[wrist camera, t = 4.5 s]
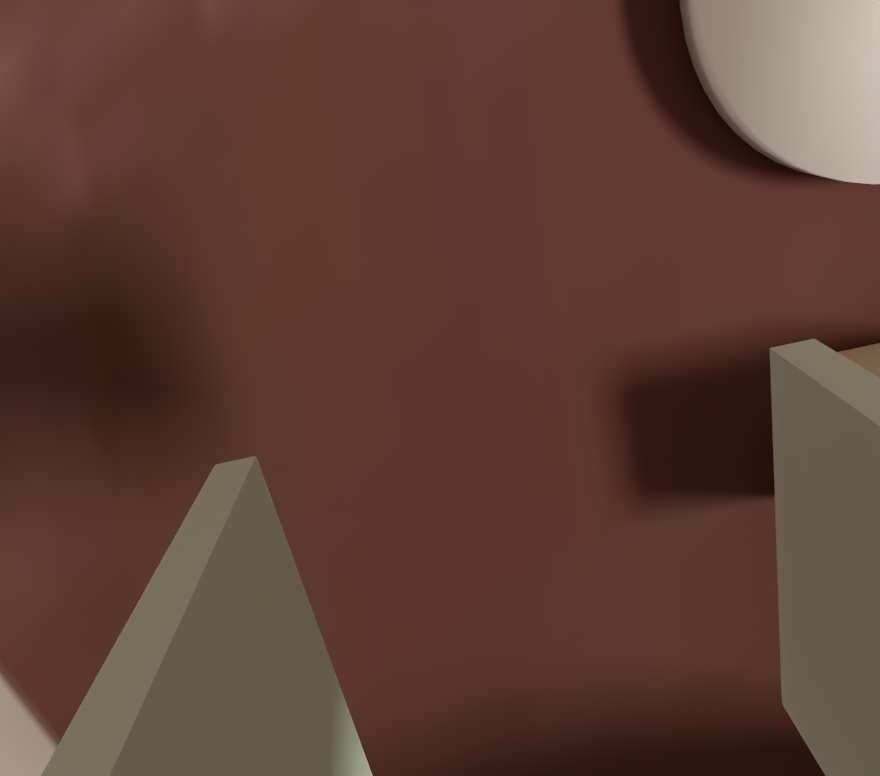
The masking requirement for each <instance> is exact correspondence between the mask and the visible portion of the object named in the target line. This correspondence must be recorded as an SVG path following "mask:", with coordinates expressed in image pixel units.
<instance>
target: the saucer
mask: <svg viewBox="0 0 880 776" xmlns="http://www.w3.org/2000/svg"><path fill="white" fill-rule="evenodd" d="M680 11H681V18H682V24H683V30H684V37H685V40H686V44H687V47H688V51H689V54H690V58H691V61H692V64H693V67H694V69H695V72H696V74H697V76H698V78H699V81H700V83H701V85H702V87H703V90H704V92H705V93H706V95H707V96H708V98H709V100H710V101H711V103H712V104H713V106H714V107H715V109H716V111H717V112H718V114H719V115H720V116H721V117H722V118H723V120H724V121H725V122H726V123H727V124H728V125H729V127H730V128H731V129H732V130H733V131H734V132H735V133H736V134H737V135H738V136H739V137H740V138H742V139H743V140H744V141H745V142H746V143H747V144H749V145H750V146H751V147H752V148H753V149H755V150H756V151H758V152H760V153H761V154H763V155H764V156H766V157H768V158H769V159H771V160H773V161H774V162H776V163H779V164H781V165H784V166H786V167H789V168H791V169H794V170H796V171H799V172H803V173H807V174H811V175H816V176H820V177H824V178H830V179H835V180H840V181H845V182H854V183H865V184H880V0H680Z"/></svg>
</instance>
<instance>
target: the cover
mask: <svg viewBox="0 0 880 776" xmlns="http://www.w3.org/2000/svg"><path fill="white" fill-rule="evenodd" d="M770 373H771V402H772V430H773V459H774V488H775V516H776V545H777V574H778V602H779V631H780V660H781V688H782V704H783V706H784V708H785V709H786V711H787V713H788V714H789V716H790V718H791V719H792V721H793V723H794V724H795V726H796V728H797V729H798V731H799V733H800V734H801V736H802V738H803V739H804V741H805V743H806V744H807V746H808V748H809V749H810V751H811V753H812V754H813V756H814V758H815V759H816V761H817V763H818V764H819V766H820V768H821V769H822V771H823V773H824V774H825V776H880V378H879V377H877V376H875V375H874V374H872V373H870V372H869V371H867V370H866V369H864V368H862V367H861V366H859V365H857V364H856V363H854V362H852V361H851V360H849V359H847V358H846V357H844V356H842V355H841V354H839V353H837V352H836V351H834V350H832V349H831V348H829V347H827V346H826V345H824V344H822V343H821V342H819V341H818V340H816V339H810V340H806V341H801V342H796V343H791V344H787V345H782V346H777V347H772V348H770ZM42 776H372V773H371V770H370V767H369V765H368V762H367V759H366V756H365V754H364V751H363V748H362V745H361V743H360V740H359V737H358V734H357V732H356V729H355V726H354V723H353V721H352V718H351V715H350V712H349V710H348V707H347V704H346V701H345V699H344V696H343V693H342V691H341V688H340V685H339V682H338V680H337V677H336V674H335V671H334V669H333V666H332V663H331V660H330V658H329V655H328V652H327V649H326V647H325V644H324V641H323V638H322V636H321V633H320V630H319V627H318V625H317V622H316V619H315V617H314V614H313V611H312V608H311V606H310V603H309V600H308V597H307V595H306V592H305V589H304V586H303V584H302V581H301V578H300V575H299V573H298V570H297V567H296V564H295V562H294V559H293V556H292V553H291V551H290V548H289V545H288V543H287V540H286V537H285V534H284V532H283V529H282V526H281V523H280V521H279V518H278V515H277V512H276V510H275V507H274V504H273V501H272V499H271V496H270V493H269V490H268V488H267V485H266V482H265V479H264V477H263V474H262V471H261V468H260V466H259V463H258V460H257V458H256V456H254V457H249V458H244V459H239V460H235V461H230V462H225V463H220V464H216V465H215V466H214V467H213V469H212V471H211V473H210V475H209V476H208V478H207V480H206V482H205V484H204V485H203V487H202V489H201V491H200V492H199V494H198V496H197V498H196V500H195V501H194V503H193V505H192V507H191V509H190V510H189V512H188V514H187V516H186V518H185V519H184V521H183V523H182V525H181V526H180V528H179V530H178V532H177V534H176V535H175V537H174V539H173V541H172V543H171V544H170V546H169V548H168V550H167V552H166V553H165V555H164V557H163V559H162V560H161V562H160V564H159V566H158V568H157V569H156V571H155V573H154V575H153V577H152V578H151V580H150V582H149V584H148V586H147V587H146V589H145V591H144V593H143V594H142V596H141V598H140V600H139V602H138V603H137V605H136V607H135V609H134V611H133V612H132V614H131V616H130V618H129V620H128V621H127V623H126V625H125V627H124V629H123V630H122V632H121V634H120V636H119V637H118V639H117V641H116V643H115V645H114V646H113V648H112V650H111V652H110V654H109V655H108V657H107V659H106V661H105V663H104V664H103V666H102V668H101V670H100V671H99V673H98V675H97V677H96V679H95V680H94V682H93V684H92V686H91V688H90V689H89V691H88V693H87V695H86V697H85V698H84V700H83V702H82V704H81V705H80V707H79V709H78V711H77V713H76V714H75V716H74V718H73V720H72V722H71V723H70V725H69V727H68V729H67V731H66V732H65V734H64V736H63V738H62V739H61V741H60V743H59V745H58V747H57V748H56V750H55V752H54V754H53V756H52V757H51V759H50V761H49V763H48V765H47V766H46V768H45V770H44V772H43V774H42Z"/></svg>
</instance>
